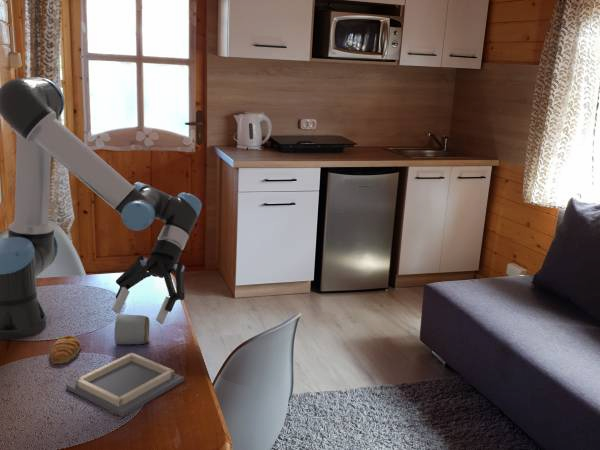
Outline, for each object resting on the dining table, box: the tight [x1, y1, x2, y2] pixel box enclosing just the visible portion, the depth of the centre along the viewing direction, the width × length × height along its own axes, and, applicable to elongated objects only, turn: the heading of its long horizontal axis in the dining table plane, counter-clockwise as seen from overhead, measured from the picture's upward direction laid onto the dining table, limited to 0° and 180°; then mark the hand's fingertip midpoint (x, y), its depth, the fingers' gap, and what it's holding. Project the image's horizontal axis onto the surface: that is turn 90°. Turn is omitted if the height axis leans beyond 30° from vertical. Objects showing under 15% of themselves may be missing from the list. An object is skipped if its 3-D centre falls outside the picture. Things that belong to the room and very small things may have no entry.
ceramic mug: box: [113, 313, 151, 345], centre depth 155 cm, size 11×8×8 cm
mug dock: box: [65, 352, 185, 418], centre depth 135 cm, size 18×18×2 cm
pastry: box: [49, 335, 83, 365], centre depth 146 cm, size 9×7×4 cm
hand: (136, 316), depth 154 cm, fingers open, 13 cm apart
